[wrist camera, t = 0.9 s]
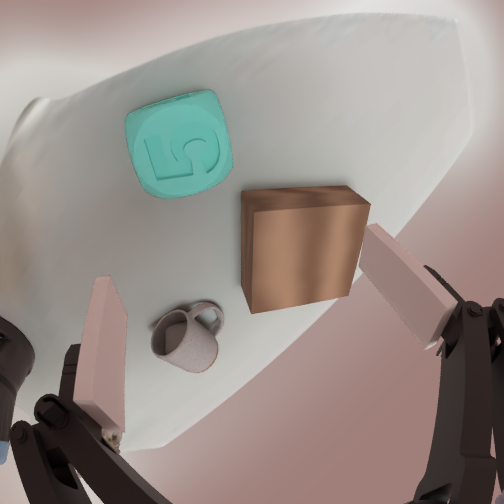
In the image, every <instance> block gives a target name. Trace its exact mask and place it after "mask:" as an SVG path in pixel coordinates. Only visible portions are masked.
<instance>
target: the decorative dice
mask: <svg viewBox="0 0 504 504" xmlns="http://www.w3.org/2000/svg"><path fill="white" fill-rule="evenodd" d="M125 131H126V139H127V144H128V148H129V152H130V156H131V160H132V163H133V166H134V169H135V171H136V174H137V177H138V179H139V181H140V183H141V185H142V187H143V188H144V190H145V191H146V192H147V193H149V194H151V195H153V196H155V197H158V198H163V199H172V198H180V197H185V196H189V195H193V194H196V193H199V192H202V191H204V190H206V189H209V188H211V187H213V186H215V185H217V184H218V183H220V182H221V181H222V180H224V179H225V178H226V177H227V175H228V174H229V172H230V171H231V169H232V167H233V158H232V151H231V145H230V140H229V135H228V131H227V127H226V123H225V119H224V116H223V112H222V109H221V106H220V103H219V101H218V98H217V96H216V94H215V93H214V92H213V91H211V90H203V91H197V92H192V93H188V94H184V95H180V96H176V97H172V98H169V99H166V100H162V101H159V102H156V103H153V104H150V105H148V106H145V107H142V108H140V109H137V110H135V111H133V112H131V113H129V114H128V115H127V117H126V120H125Z"/></svg>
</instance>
